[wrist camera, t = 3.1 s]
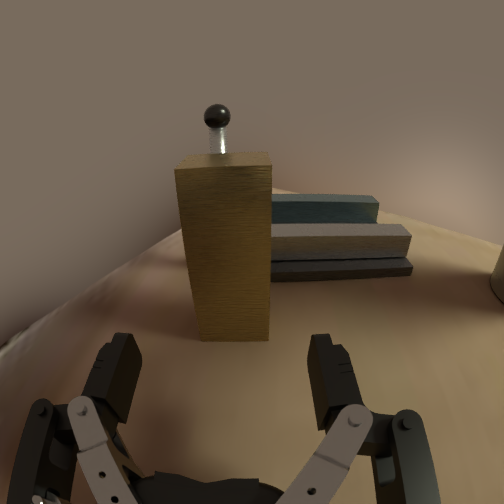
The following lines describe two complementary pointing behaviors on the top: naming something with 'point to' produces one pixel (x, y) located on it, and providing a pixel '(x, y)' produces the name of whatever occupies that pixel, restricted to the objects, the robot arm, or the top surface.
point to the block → (228, 242)
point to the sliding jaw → (318, 235)
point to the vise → (331, 212)
